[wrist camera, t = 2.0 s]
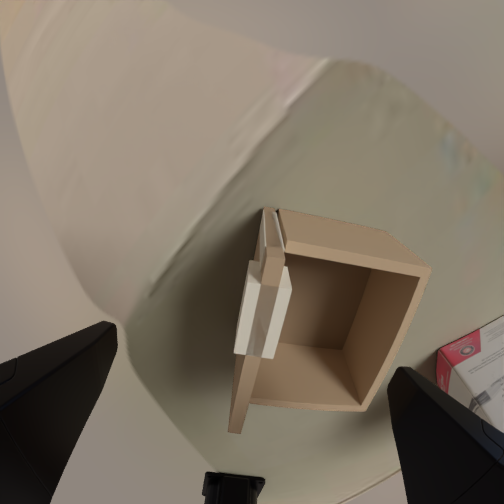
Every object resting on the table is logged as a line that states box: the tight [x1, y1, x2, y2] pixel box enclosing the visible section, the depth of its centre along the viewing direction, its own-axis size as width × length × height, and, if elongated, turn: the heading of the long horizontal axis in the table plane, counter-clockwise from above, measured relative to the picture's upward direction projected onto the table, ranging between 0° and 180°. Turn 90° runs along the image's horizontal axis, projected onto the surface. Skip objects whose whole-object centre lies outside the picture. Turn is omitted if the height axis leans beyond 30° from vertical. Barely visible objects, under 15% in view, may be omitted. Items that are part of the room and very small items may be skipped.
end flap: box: [228, 207, 292, 434], centre depth 15 cm, size 9×2×8 cm, turn 169°
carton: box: [249, 209, 432, 412], centre depth 17 cm, size 9×7×6 cm
